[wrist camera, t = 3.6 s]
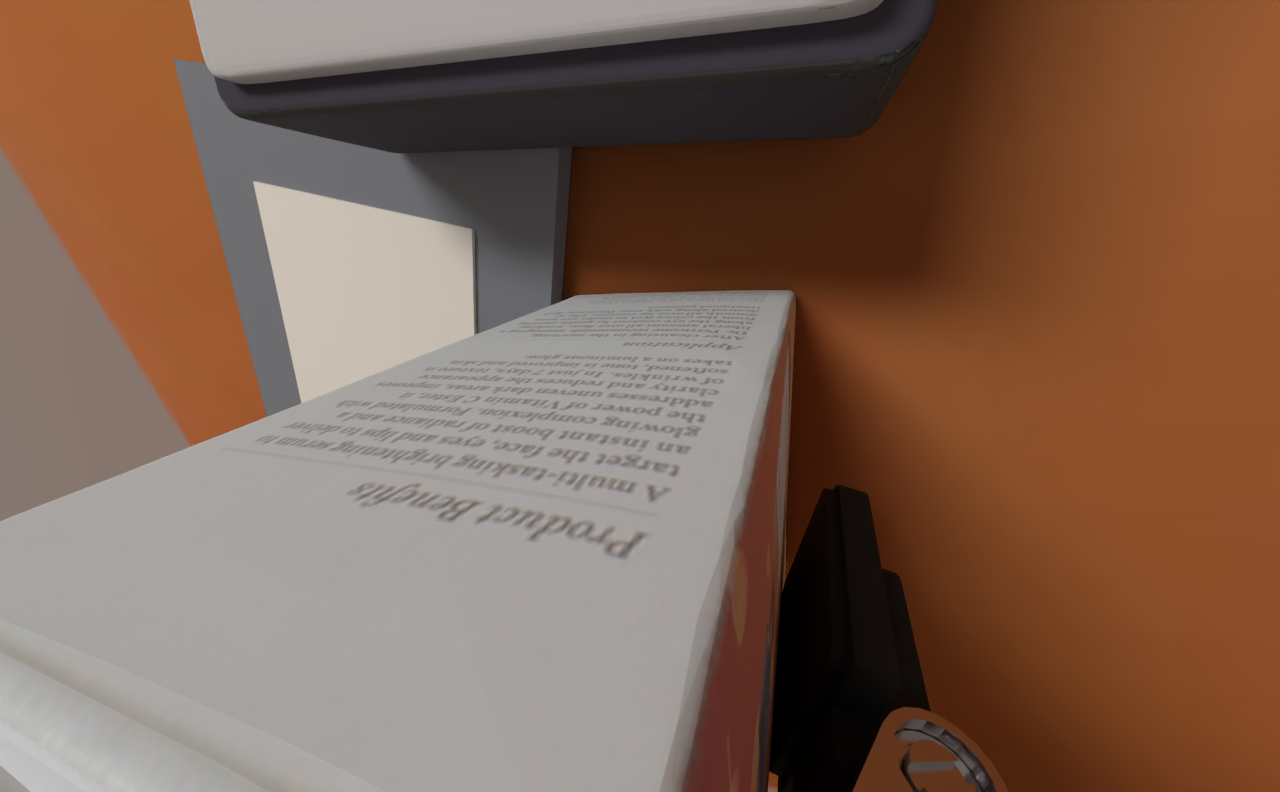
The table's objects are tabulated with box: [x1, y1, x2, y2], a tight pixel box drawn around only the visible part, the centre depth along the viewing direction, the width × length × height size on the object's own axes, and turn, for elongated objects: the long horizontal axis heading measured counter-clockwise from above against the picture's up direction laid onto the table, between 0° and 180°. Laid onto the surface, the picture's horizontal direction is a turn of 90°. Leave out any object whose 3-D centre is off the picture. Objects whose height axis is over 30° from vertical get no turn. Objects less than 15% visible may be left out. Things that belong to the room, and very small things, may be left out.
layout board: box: [174, 59, 572, 417], centre depth 15 cm, size 12×15×1 cm
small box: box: [0, 290, 796, 792], centre depth 8 cm, size 8×6×10 cm
